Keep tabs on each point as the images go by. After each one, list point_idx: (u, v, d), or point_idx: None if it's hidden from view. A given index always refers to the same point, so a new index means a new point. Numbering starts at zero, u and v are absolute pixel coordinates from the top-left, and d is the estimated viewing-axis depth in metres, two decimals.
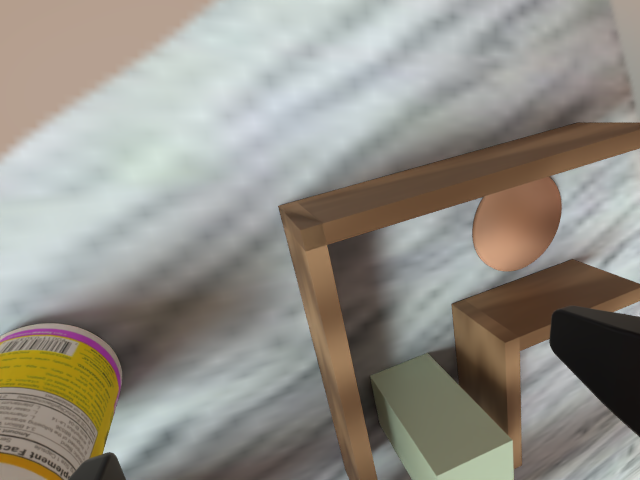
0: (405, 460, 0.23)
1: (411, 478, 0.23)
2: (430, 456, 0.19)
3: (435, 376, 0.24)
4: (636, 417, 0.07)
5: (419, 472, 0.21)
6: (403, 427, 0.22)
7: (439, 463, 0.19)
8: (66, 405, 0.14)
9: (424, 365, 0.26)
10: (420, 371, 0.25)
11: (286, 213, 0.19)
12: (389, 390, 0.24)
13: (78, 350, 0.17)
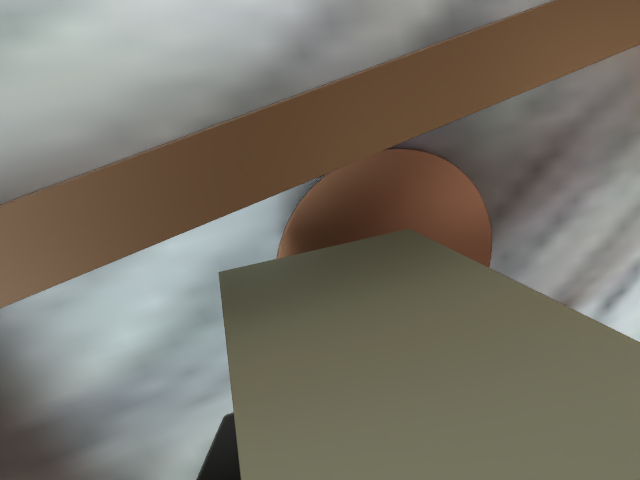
0: None
1: None
2: None
3: None
4: None
5: None
6: None
7: None
8: None
9: None
10: None
11: None
12: None
13: None
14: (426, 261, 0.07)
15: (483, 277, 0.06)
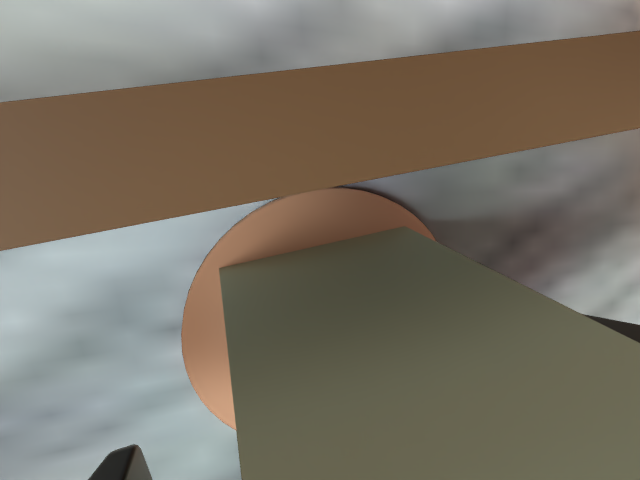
0: None
1: None
2: None
3: None
4: None
5: None
6: None
7: None
8: None
9: None
10: None
11: None
12: None
13: None
14: (419, 257, 0.07)
15: (472, 272, 0.06)
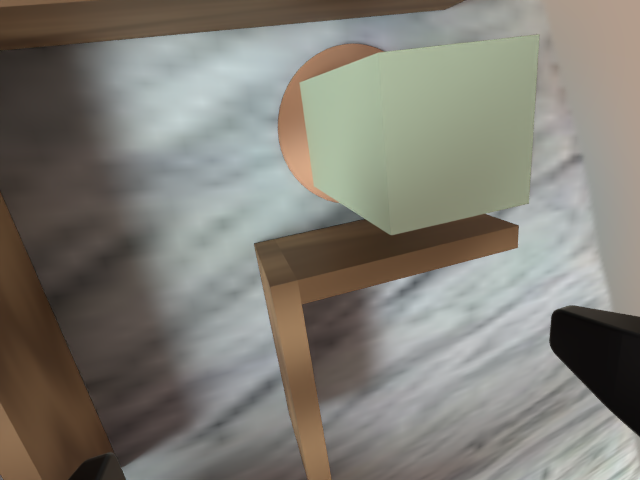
0: None
1: None
2: (374, 214, 0.11)
3: (315, 100, 0.14)
4: (636, 417, 0.07)
5: None
6: None
7: (381, 213, 0.10)
8: None
9: (308, 102, 0.15)
10: (312, 116, 0.15)
11: None
12: (323, 180, 0.16)
13: None
14: None
15: None
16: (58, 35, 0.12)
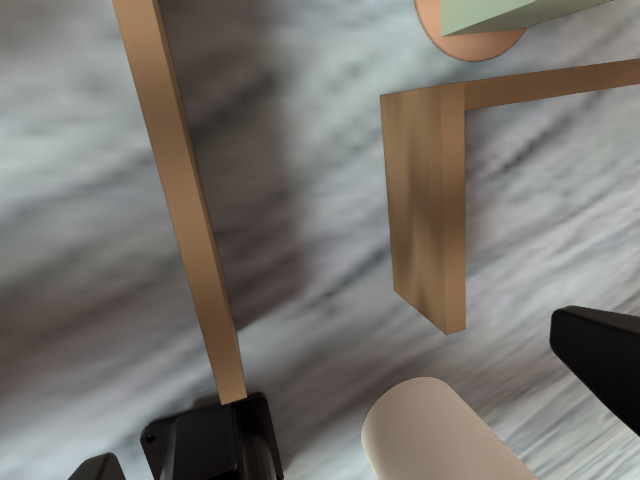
0: (577, 7, 0.15)
1: (608, 1, 0.15)
2: None
3: None
4: (636, 417, 0.07)
5: None
6: (518, 8, 0.14)
7: None
8: None
9: None
10: None
11: None
12: (466, 12, 0.16)
13: None
14: None
15: None
16: None
